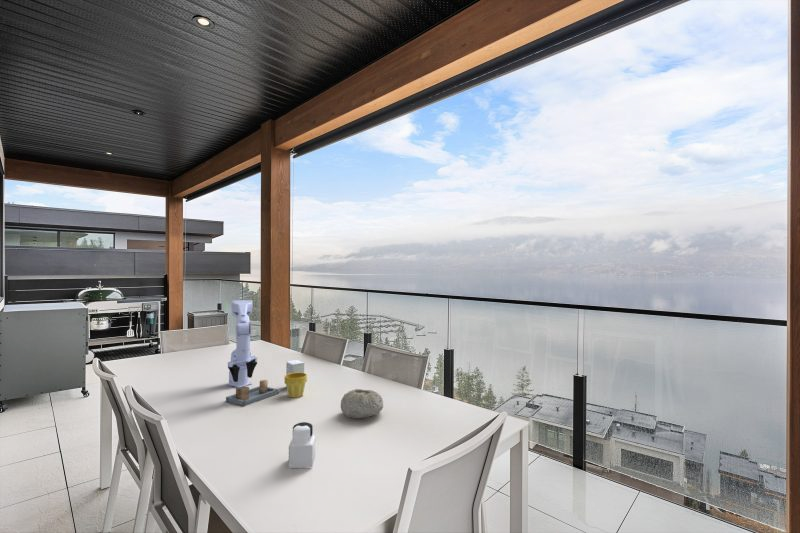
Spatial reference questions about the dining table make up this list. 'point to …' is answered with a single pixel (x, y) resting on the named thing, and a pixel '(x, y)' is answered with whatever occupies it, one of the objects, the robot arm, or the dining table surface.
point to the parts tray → (253, 396)
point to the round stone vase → (361, 403)
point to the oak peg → (263, 386)
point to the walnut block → (242, 393)
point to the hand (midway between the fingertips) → (242, 379)
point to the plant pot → (295, 384)
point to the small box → (294, 367)
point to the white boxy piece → (302, 446)
